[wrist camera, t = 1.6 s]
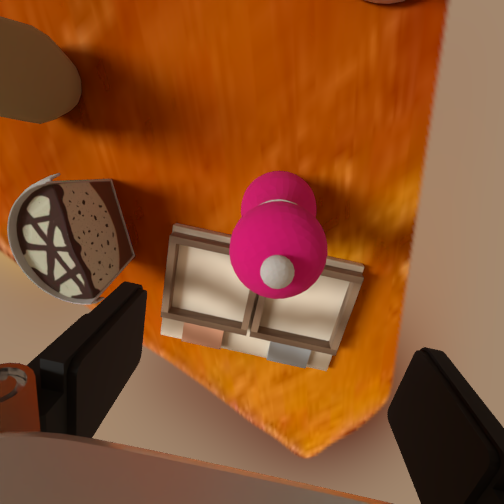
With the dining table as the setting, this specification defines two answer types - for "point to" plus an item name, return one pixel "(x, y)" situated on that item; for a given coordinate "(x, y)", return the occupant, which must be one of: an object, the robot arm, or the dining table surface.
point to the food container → (70, 237)
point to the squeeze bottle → (34, 75)
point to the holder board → (252, 304)
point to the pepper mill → (278, 237)
